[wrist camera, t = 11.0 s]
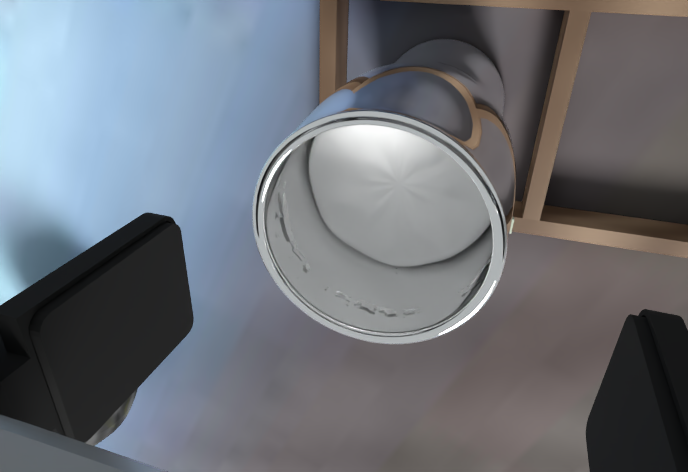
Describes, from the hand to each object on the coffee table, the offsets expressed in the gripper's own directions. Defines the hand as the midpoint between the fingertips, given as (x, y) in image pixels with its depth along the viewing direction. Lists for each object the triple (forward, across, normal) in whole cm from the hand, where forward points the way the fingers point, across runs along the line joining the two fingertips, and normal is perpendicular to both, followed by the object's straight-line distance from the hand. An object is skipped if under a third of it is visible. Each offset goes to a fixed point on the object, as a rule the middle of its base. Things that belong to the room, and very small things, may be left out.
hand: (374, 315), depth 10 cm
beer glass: (+18, +1, 0) cm, 18 cm away
